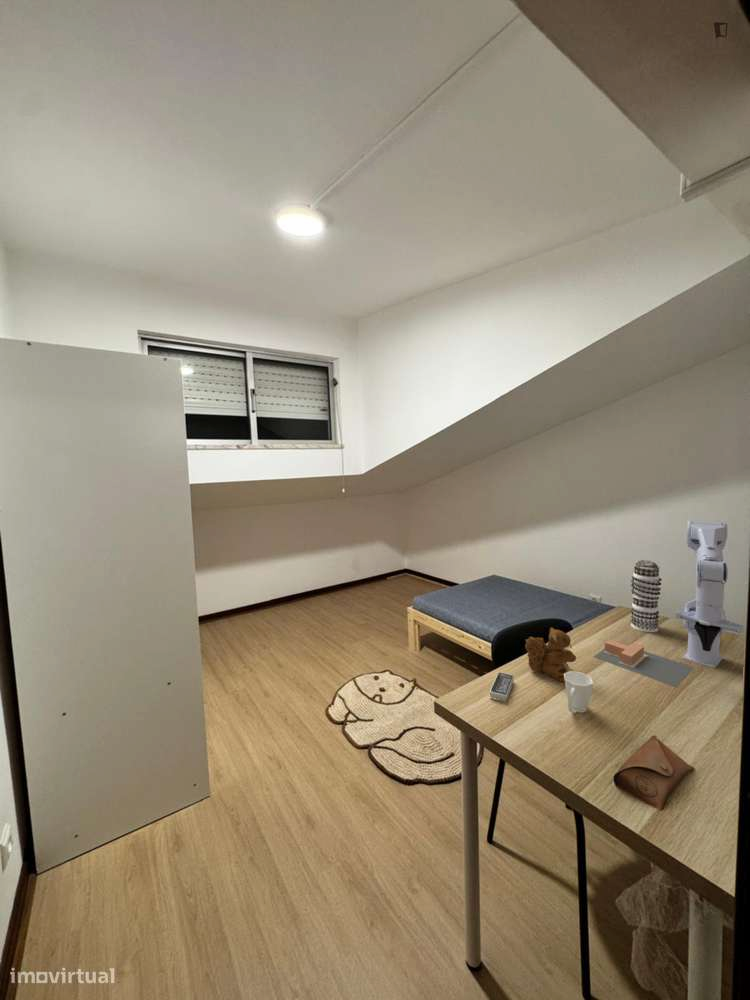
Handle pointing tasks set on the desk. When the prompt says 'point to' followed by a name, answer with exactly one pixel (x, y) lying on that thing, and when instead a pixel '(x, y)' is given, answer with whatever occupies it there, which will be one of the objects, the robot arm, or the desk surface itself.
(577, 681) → the cup
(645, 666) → the mat
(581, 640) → the desk surface
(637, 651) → the t block
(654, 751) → the sunglasses case
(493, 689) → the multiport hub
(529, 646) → the stuffed squirrel
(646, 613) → the white patterned cylinder
